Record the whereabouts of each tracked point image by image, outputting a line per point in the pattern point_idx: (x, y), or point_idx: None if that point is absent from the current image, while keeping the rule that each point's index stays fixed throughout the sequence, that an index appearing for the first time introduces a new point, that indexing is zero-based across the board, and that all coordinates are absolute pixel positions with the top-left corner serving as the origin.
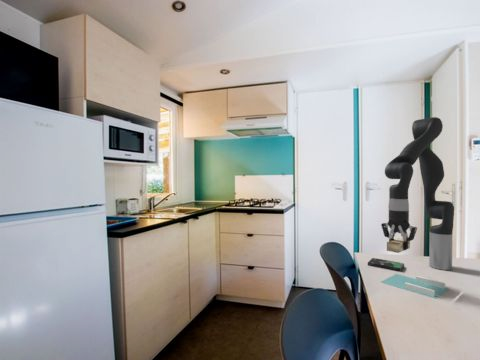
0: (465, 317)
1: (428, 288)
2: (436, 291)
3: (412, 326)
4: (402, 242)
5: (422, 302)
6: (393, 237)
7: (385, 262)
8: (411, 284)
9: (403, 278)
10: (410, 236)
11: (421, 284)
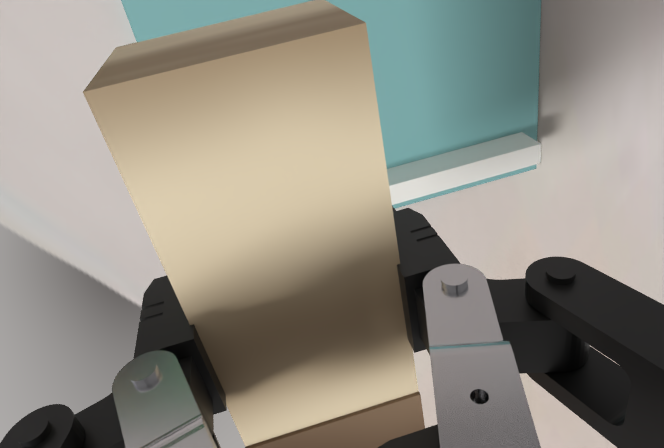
0: (659, 215)
1: (453, 47)
2: (505, 49)
3: (542, 422)
4: (400, 342)
5: (498, 251)
6: (192, 382)
7: None
8: (410, 190)
9: (232, 18)
10: (609, 411)
11: (387, 11)
